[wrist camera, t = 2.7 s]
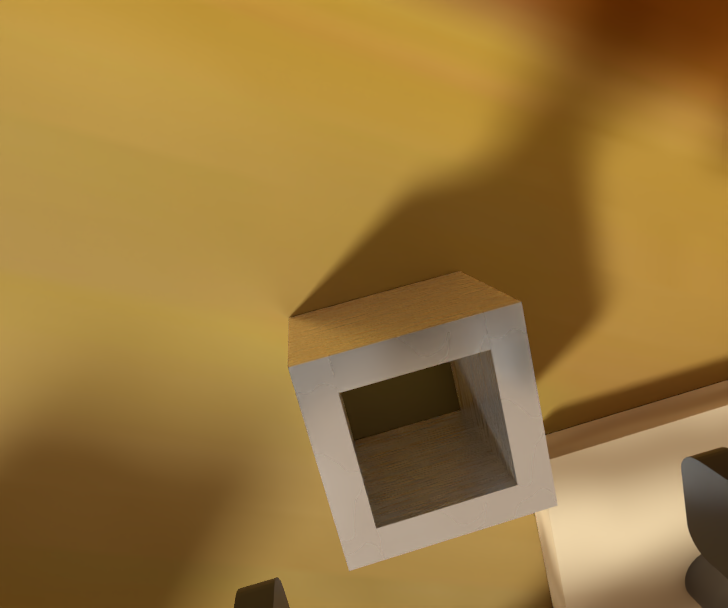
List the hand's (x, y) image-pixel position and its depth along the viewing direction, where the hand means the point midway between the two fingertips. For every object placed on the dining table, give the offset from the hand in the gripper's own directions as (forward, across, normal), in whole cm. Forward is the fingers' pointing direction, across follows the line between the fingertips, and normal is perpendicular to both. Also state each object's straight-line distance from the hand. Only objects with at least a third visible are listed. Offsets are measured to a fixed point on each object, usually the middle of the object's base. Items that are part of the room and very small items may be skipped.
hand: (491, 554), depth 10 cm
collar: (+9, 0, 0) cm, 9 cm away
